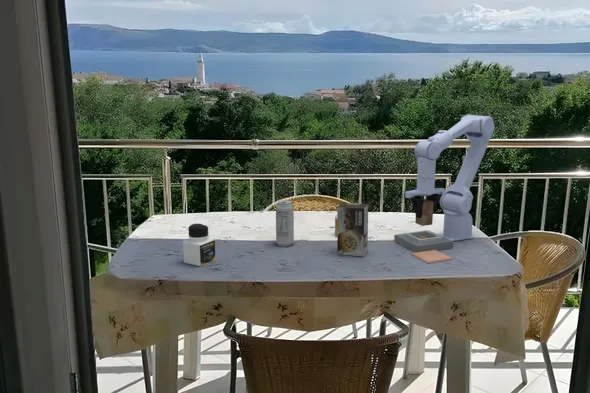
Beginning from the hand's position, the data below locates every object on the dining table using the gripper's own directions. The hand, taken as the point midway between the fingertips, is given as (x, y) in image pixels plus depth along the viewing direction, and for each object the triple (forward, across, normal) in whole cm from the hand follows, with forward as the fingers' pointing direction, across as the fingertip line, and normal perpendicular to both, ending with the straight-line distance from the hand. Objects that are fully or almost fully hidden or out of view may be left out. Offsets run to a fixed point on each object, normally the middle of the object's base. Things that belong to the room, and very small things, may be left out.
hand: (424, 216), depth 192 cm
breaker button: (+10, 0, 0) cm, 10 cm away
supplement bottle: (+10, +20, -21) cm, 31 cm away
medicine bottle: (+10, +74, -13) cm, 76 cm away
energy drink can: (+10, +43, -19) cm, 48 cm away
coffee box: (+10, +26, -2) cm, 28 cm away
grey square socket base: (+10, 0, 0) cm, 10 cm away
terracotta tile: (+10, +5, +12) cm, 16 cm away
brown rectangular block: (+2, 0, 0) cm, 2 cm away
